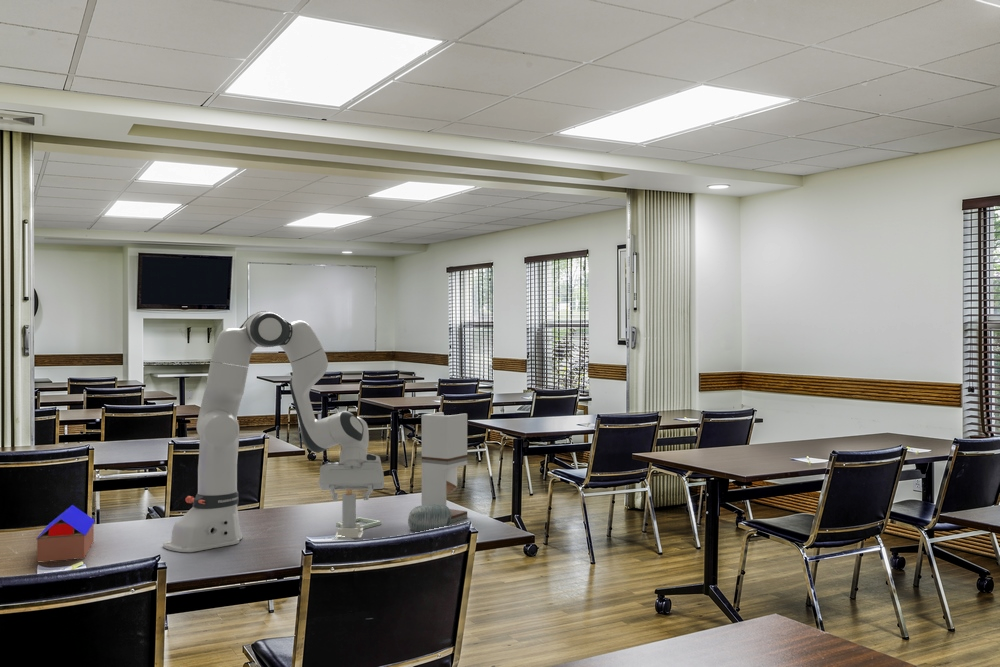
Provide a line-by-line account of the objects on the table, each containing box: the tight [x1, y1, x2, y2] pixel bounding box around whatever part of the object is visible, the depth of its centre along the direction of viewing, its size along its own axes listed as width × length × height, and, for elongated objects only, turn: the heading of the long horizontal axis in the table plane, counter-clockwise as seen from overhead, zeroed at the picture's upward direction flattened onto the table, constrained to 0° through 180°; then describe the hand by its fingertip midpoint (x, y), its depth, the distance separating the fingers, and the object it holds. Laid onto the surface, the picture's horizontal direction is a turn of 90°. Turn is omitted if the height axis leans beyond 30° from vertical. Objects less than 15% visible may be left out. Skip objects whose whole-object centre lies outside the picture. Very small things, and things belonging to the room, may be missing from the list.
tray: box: [335, 516, 382, 530], centre depth 256 cm, size 10×10×2 cm
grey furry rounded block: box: [407, 504, 451, 532], centre depth 252 cm, size 14×10×10 cm
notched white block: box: [421, 411, 468, 524], centre depth 269 cm, size 11×11×35 cm
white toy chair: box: [334, 522, 365, 539], centre depth 246 cm, size 8×11×3 cm
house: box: [36, 504, 96, 561], centre depth 227 cm, size 12×20×12 cm, turn 20°
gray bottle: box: [341, 489, 357, 528], centre depth 244 cm, size 4×4×14 cm
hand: (350, 499), depth 247 cm, fingers open, 8 cm apart
